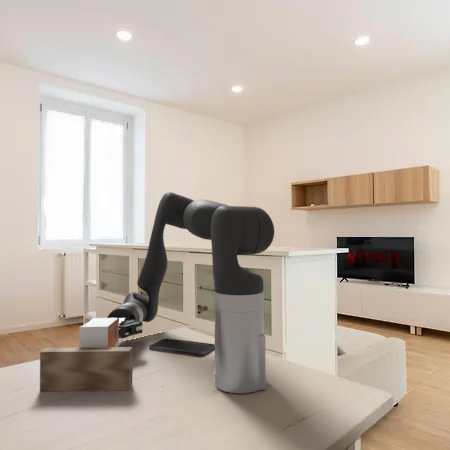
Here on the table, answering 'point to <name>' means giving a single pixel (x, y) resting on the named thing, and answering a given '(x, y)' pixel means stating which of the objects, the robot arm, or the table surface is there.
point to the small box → (99, 333)
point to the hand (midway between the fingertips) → (104, 337)
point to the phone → (182, 347)
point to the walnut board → (86, 369)
